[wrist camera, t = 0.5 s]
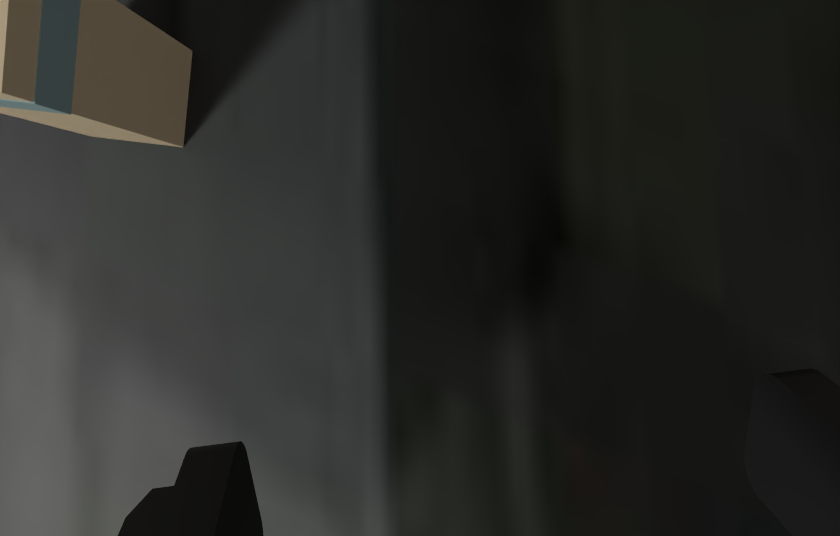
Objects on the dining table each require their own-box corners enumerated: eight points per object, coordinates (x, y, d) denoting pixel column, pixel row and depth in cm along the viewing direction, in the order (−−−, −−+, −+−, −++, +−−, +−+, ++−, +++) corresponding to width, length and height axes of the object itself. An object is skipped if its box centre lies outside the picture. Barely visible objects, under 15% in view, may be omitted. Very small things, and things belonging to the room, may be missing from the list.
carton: (100, 40, 33) (-136, -84, 20) (193, 50, 33) (15, -69, 20) (91, 137, 33) (-146, 77, 20) (184, 148, 33) (2, 94, 20)
